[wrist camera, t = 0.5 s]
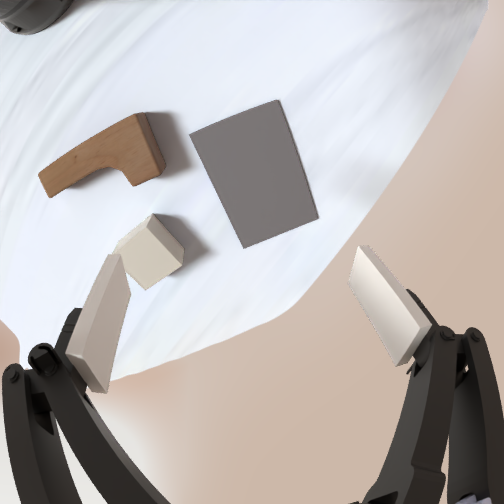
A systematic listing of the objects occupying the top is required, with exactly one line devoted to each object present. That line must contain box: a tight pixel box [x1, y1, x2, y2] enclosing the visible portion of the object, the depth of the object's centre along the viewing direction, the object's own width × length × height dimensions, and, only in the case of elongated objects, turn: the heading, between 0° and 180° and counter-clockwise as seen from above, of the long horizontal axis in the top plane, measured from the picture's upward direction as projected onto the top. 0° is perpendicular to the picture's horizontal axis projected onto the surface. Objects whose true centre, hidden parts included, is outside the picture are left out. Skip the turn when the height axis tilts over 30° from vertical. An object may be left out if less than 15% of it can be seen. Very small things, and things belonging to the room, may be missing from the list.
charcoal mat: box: [189, 100, 318, 249], centre depth 39 cm, size 20×13×1 cm, turn 21°
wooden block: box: [38, 112, 166, 198], centre depth 33 cm, size 9×4×18 cm
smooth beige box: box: [112, 213, 185, 290], centre depth 41 cm, size 8×8×5 cm
